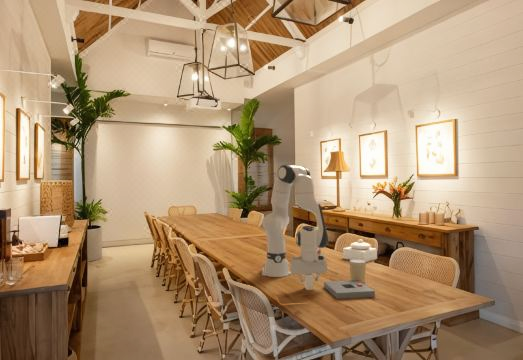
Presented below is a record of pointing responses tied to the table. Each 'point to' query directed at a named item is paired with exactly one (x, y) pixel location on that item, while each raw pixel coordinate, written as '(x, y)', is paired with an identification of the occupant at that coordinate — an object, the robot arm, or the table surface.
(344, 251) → the butter dish
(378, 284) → the table surface
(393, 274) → the table surface
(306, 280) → the plug
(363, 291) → the socket plate
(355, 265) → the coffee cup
